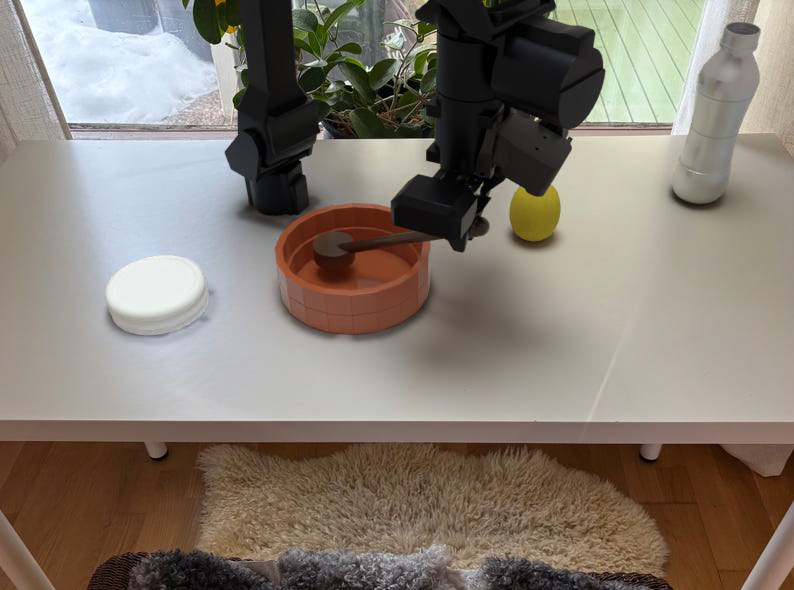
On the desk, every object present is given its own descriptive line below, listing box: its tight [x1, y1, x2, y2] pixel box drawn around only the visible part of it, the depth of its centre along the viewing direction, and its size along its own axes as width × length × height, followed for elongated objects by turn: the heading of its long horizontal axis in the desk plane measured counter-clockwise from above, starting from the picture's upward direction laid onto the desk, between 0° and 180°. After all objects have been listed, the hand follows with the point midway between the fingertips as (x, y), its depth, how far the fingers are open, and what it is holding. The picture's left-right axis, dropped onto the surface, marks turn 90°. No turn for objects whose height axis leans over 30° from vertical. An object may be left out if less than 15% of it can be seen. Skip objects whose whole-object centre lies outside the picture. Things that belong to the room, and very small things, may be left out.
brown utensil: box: [313, 216, 491, 270], centre depth 76 cm, size 19×4×10 cm, turn 64°
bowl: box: [274, 202, 432, 335], centre depth 80 cm, size 16×16×6 cm
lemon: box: [508, 184, 562, 242], centre depth 85 cm, size 6×6×8 cm
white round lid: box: [104, 254, 210, 336], centre depth 79 cm, size 10×10×4 cm
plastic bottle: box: [671, 21, 762, 205], centre depth 87 cm, size 6×7×20 cm
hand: (463, 245), depth 73 cm, fingers closed on brown utensil, 2 cm apart
